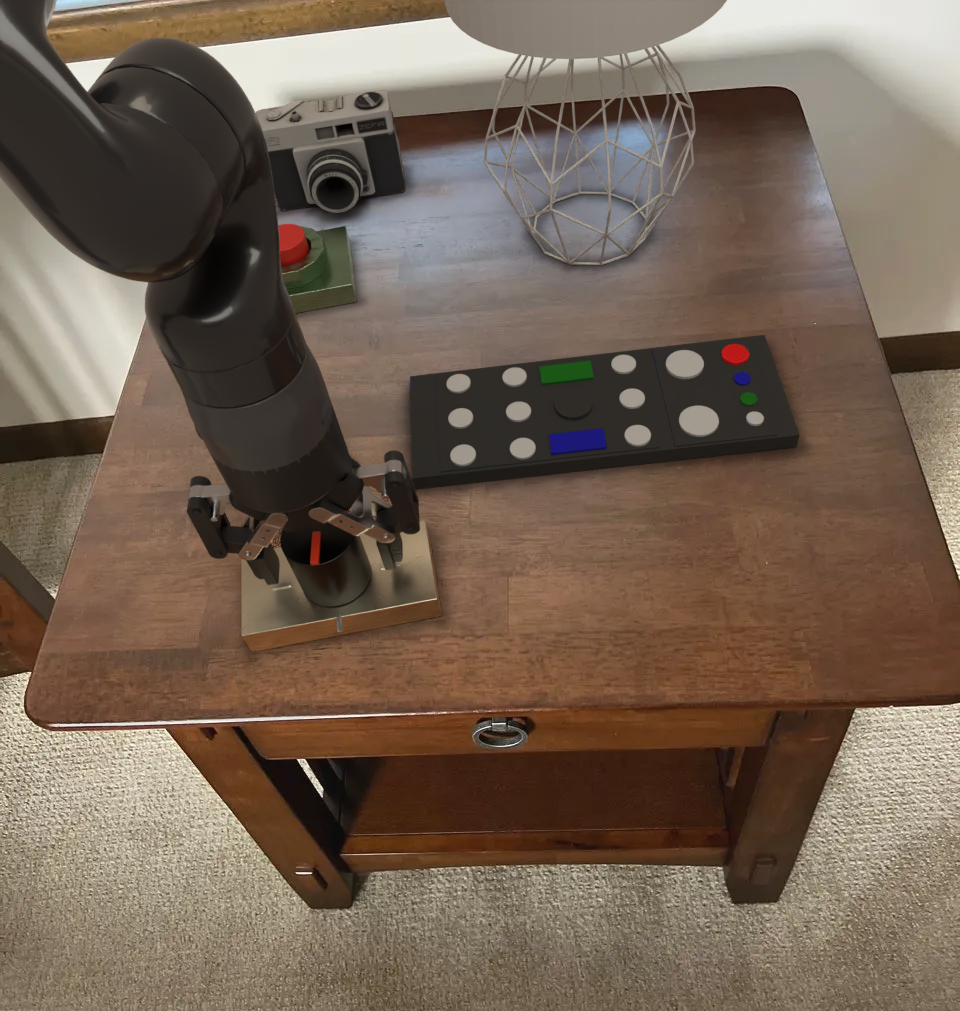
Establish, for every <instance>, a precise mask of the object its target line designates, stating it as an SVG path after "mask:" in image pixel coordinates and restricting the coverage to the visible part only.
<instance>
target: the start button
mask: <svg viewBox="0 0 960 1011" xmlns="http://www.w3.org/2000/svg"><path fill="white" fill-rule="evenodd" d="M278 227H279V236H280V260H281V266H284V265H290V264H295V263H297V262H299V261H300V260H302V259H304V258H305V257H306V256H307V254H308V252H309V246H308V242H307V239H306V236H305V233H304V230H303V229H302V228H301V227H302V226H299V225H298V224H296V223H295V224H294V223H282V224H278Z"/></svg>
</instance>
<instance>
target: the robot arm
mask: <svg viewBox="0 0 960 1011" xmlns="http://www.w3.org/2000/svg"><path fill="white" fill-rule="evenodd" d="M56 5H57V0H0V180H1V181H2V182H3V183H4V184H5V186H6V187H7V188H8V189H9V190H10V191H11V192H12V194H13V195H14V196H15V197H16V198H17V199H18V201H19V202H20V203H21V205H23V206H24V208H25V209H26V211H28V212H29V213H30V215H31V216H32V217H33V218H34V219H35V220H36V221H37V222H38V223H39V224H40V225H41V227H43V228H44V230H45V231H46V232H47V233H48V235H50V237H53V239H55V240H56V241H57V242H58V243H59V244H60V245H62V246H63V247H64V248H65V249H66V250H67V251H69V252H70V253H71V254H73V255H74V256H76V257H77V258H79V259H80V260H82V261H84V262H85V263H87V264H88V265H90V266H92V267H94V268H96V269H98V270H101V271H103V272H105V273H107V274H109V275H112V276H114V277H118V278H121V279H125V280H129V281H133V282H141V283H147V284H146V289H145V294H144V314H145V319H146V321H147V325H148V327H149V330H150V332H151V333H152V336H153V338H154V340H155V343H156V345H157V347H158V349H159V351H160V353H161V355H162V357H163V359H164V360H165V362H166V364H167V366H168V368H169V370H170V371H171V373H172V375H173V377H174V379H175V381H176V383H177V385H178V386H179V389H180V391H181V394H182V395H183V399H184V402H185V405H186V408H187V411H188V414H189V416H190V419H191V421H192V423H193V425H194V429H195V432H196V434H197V436H198V438H199V439H200V440H202V441H203V443H204V445H205V447H206V449H207V451H208V453H209V455H210V456H211V458H212V460H213V462H214V464H215V466H216V468H217V469H218V472H219V473H220V475H221V477H222V479H223V481H224V483H217V484H212V481H211V480H210V479H209V477H206V476H203V475H195V476H193V477H192V478H191V479H190V484H189V491H188V498H187V507H186V514H187V515H188V517H189V520H190V521H191V523H192V525H193V527H194V529H195V531H196V532H197V534H198V536H199V538H200V540H201V542H202V544H203V546H204V547H205V549H206V551H207V553H208V555H209V557H211V558H213V559H215V560H216V559H217V560H221V559H225V558H227V557H228V555H229V554H235V555H238V557H239V559H240V560H241V559H243V560H246V561H247V563H248V565H249V566H250V568H251V570H252V571H253V573H254V575H255V576H256V577H257V578H258V579H264V580H265V581H266V583H267V585H274V584H278V583H279V569H280V563H279V558H278V556H277V554H276V552H275V550H274V548H275V547H274V546H273V544H272V542H273V540H274V538H275V537H276V536H277V534H278V532H280V530H281V531H282V530H286V532H287V533H289V532H297V531H301V530H304V529H308V528H328V527H334V526H336V527H338V528H340V529H342V530H344V531H346V532H348V533H350V534H352V535H354V536H359V535H361V534H362V533H363V534H365V535H367V536H369V537H371V538H373V539H375V540H376V545H377V548H378V550H379V553H380V556H381V559H382V562H383V565H384V568H385V570H392V569H396V562H401V561H402V558H403V546H402V538H401V535H400V533H401V532H403V533H405V534H416V533H418V532H419V531H420V521H421V520H420V502H419V501H420V500H419V497H418V494H417V491H416V489H415V487H414V484H413V480H412V476H411V473H410V471H409V468H408V466H407V463H406V460H405V457H404V454H403V453H402V452H401V451H399V450H393V449H392V450H389V451H387V452H385V453H384V455H383V462H380V463H374V464H367V465H361V464H360V463H359V462H358V461H356V460H355V459H354V458H353V457H352V456H351V454H350V452H349V449H348V447H347V443H346V440H345V438H344V435H343V431H342V429H341V426H340V424H339V419H338V417H337V414H336V412H335V409H334V406H333V402H332V400H331V397H330V393H329V391H328V388H327V385H326V383H325V379H324V376H323V373H322V371H321V369H320V366H319V363H318V362H317V360H316V358H315V356H314V354H313V353H312V350H311V349H310V347H309V345H308V344H307V340H306V339H305V336H304V334H303V331H302V328H301V325H300V322H299V319H298V317H297V313H295V311H294V308H293V305H292V302H291V299H290V297H289V294H288V291H287V289H286V287H285V284H284V282H283V277H282V270H281V260H280V236H279V227H278V225H279V219H278V211H277V203H276V195H275V192H274V185H273V177H272V171H271V164H270V158H269V153H268V149H267V144H266V141H265V138H264V134H263V131H262V128H261V125H260V122H259V120H258V117H257V115H256V111H255V109H254V107H253V104H252V102H251V100H250V99H249V97H248V96H247V94H246V92H245V91H244V90H243V88H242V87H241V85H240V84H239V82H238V80H236V78H235V77H234V76H233V75H232V74H231V73H230V72H229V70H228V69H227V68H226V67H225V66H224V65H223V64H222V63H221V62H219V60H218V59H216V58H215V57H214V56H212V54H210V53H209V52H208V51H205V50H203V49H202V48H200V47H198V46H196V45H194V44H192V43H189V42H187V41H184V40H181V39H178V38H173V37H149V38H147V39H146V38H145V39H142V40H140V41H137V42H134V43H133V44H131V45H129V46H128V47H126V48H125V49H124V50H122V51H121V52H120V53H118V54H117V55H116V56H115V57H114V58H113V59H112V60H111V61H110V62H109V63H108V64H107V65H106V67H105V68H104V69H103V71H102V72H101V73H100V74H99V76H98V78H97V79H96V80H95V81H94V82H93V84H92V85H91V86H90V88H89V89H88V90H87V89H86V88H85V87H84V86H83V85H82V83H81V81H79V80H78V78H77V77H76V76H75V74H74V73H73V72H72V70H71V69H70V68H69V66H68V65H67V64H66V62H65V61H64V59H63V58H62V56H61V55H60V54H59V52H58V51H57V50H56V48H55V46H54V45H53V44H52V42H51V41H50V39H49V37H48V30H47V29H48V26H49V24H50V22H51V20H52V17H53V14H54V12H55V9H56ZM370 487H371V488H373V489H374V490H375V491H376V492H377V493H378V494H380V495H381V498H379V497H377V496H375V495H374V494H373V492H372V490H371V488H370ZM388 500H389V502H390V503H388V502H386V501H388ZM228 505H231V506H232V507H233V508H234V510H236V511H238V512H241V513H242V514H245V515H246V517H245V518H244V520H243V521H242V523H241V524H240V526H239V525H237V526H236V525H231V522H230V520H229V517H228V515H227V513H226V506H228ZM350 509H351V510H350ZM349 511H350V512H349ZM374 517H375V518H374Z"/></svg>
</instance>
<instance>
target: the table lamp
mask: <svg viewBox="0 0 960 1011" xmlns="http://www.w3.org/2000/svg"><path fill="white" fill-rule="evenodd" d="M727 1H728V0H444V5H445V9H446V12H447V14H448V16H449V18H450V19H451V21H452V23H453V24H454V25H455V26H456V27H457V28H458V29H459V30H460V31H462V33H464V34H466V35H467V36H469V37H470V38H471V39H474V40H476V41H478V42H479V43H481V44H483V45H486V46H488V47H490V48H494V49H496V50H499V51H503V52H506V53H511V54H514V55H517V57H515V59H514V61H513V62H512V64H511V65H510V66H509V68H508V70H507V71H506V73H505V74H504V77H503V78H502V82H501V85H500V88H499V90H498V93H497V96H496V99H495V102H494V105H493V107H492V116H491V119H490V122H489V126H488V129H487V132H486V136H485V138H484V149H483V150H484V152H483V163H484V165H485V168H487V170H488V171H489V173H490V175H491V176H492V178H493V179H494V180H495V183H496V185H497V186H498V187H499V189H500V190H501V192H502V194H503V195H504V197H505V198H506V199H507V201H508V203H509V204H510V206H511V207H512V209H513V210H514V211H515V213H516V214H517V216H518V217H519V219H520V220H521V222H522V223H523V225H524V226H525V228H526V229H527V232H528V233H529V234H530V235H531V236H532V238H533V239H534V241H535V242H536V244H537V246H538V247H539V249H540V250H541V251H542V253H543V254H544V255H547V256H549V257H551V258H553V259H555V260H558V261H560V262H563V263H564V264H567V265H576V266H577V265H579V266H580V265H581V266H603V265H606V264H609V263H613V262H614V261H617V260H620V259H623V258H628V257H629V256H630V255H631V254H633V252H634V251H636V250H637V248H638V247H640V246H641V244H643V242H645V241H646V239H647V237H648V236H649V235H650V233H651V231H652V230H653V229H654V228H655V226H656V225H657V223H658V221H659V220H660V218H661V217H662V216H663V214H664V212H665V211H666V210H667V208H668V207H669V205H670V204H671V202H672V201H673V199H674V198H675V195H676V194H677V192H678V191H679V189H680V188H681V186H682V184H684V181H685V179H686V178H687V176H688V175H689V173H690V171H691V170H692V169H693V167H694V165H695V156H694V146H693V139H694V137H695V134H696V132H697V131H696V130H697V129H696V118H695V107H694V104H693V101H692V100H691V97H690V93H689V91H688V89H687V86H686V83H685V81H684V78H683V74H681V72H680V71H679V70H678V68H677V67H676V66H675V64H674V63H673V62H672V60H671V59H670V58H669V56H668V55H667V54H666V52H665V51H664V49H663V48H662V46H660V45H662V44H665V43H667V42H670V41H671V42H672V41H673V40H675V39H678V38H680V37H682V36H684V35H686V34H689V33H690V32H692V31H693V30H695V29H697V28H698V27H701V26H702V25H703V24H705V23H706V22H707V21H709V20H710V19H711V18H712V17H714V16H715V15H716V14H717V13H718V12H719V11H720V10H721V9H722V8H723V6H724V5H725V4H726V3H727ZM650 48H651V49H652V51H653V52H654V53H651V51H650V50H649V49H650ZM643 50H644V51H645V53H646V54H647V56H645V57H642V58H641V59H639V60H636V61H634V62H632V63H631V61H630V58H629V55H628V54H630V53H635V52H638V51H643ZM618 55H619V60H620V61H619V62H620V65H619V64H618V63H616V62H614V61H612V60H609V59H608V57H615V56H618ZM661 55H662V56H661ZM522 56H524V58H523V59H522V61H521V63H520V64H519V66H518V68H517V69H516V71H515V73H514V74H513V76H512V77H511V76H509V75H510V74H511V72H512V70H513V69H514V68H515V66H516V64H517V63H518V61H519V60H520V59H521V57H522ZM623 56H624V59H625V61H626V63H627V65H625V64H624V59H623ZM529 57H530V61H529V65H528V68H527V73H526V77H525V80H521V79H518V78H517V76H518V74H519V72H520V71H521V69H522V68H523V66H524V64H525V63H526V62H527V59H528V58H529ZM655 57H656V58H657V61H658V63H657V62H656V59H655ZM663 57H664V58H663ZM534 58H541V59H542V60H541V63H540V65H539V68H538V70H537V71H536V72H535V73H534V74H533V75H532V76H531V77H530V74H531V70H532V66H533V63H534ZM547 59H549V60H550V61H548V62H547V63H546V61H547ZM583 59H586V60H587V59H597V67H598V77H599V86H600V87H599V88H600V89H599V90H600V97H601V98H600V100H601V108H600V109H599V110H598V111H597V112H595V113H594V114H593V115H592V116H591V117H590V118H588V120H587V121H586V122H584V123H583V124H582V125H581V126H580V127H579V128H578V129H577V124H576V110H575V99H574V97H575V96H574V64H575V63H574V62H575V60H583ZM664 59H665V60H664ZM557 60H568V63H567V69H566V75H565V80H564V86H563V91H562V98H561V103H560V107H559V108H560V109H559V115H558V119H557V121H556V120H555V119H553V118H551V117H550V116H548V115H546V114H544V113H543V112H541V111H540V110H537V108H536V109H535V108H534V107H533V106H531V105H528V103H529V101H530V99H531V97H532V94H533V92H534V90H535V87H536V86H537V85H536V84H537V83H538V80H539V77H540V75H541V73H542V72H543V71H544V70H545V69H547V68H548V67H549V66H550V65H552V64H553V63H554V62H555V61H557ZM647 60H650V61H651V63H652V64H653V66H654V68H655V69H656V70H657V73H658V74H659V77H660V78H661V80H662V81H663V83H664V84H665V98H666V105H665V109H664V111H663V114H662V117H661V119H660V123H659V126H658V128H657V132H656V133H655V129H654V125H653V121H652V119H651V116H650V113H649V110H648V108H647V106H646V102H645V100H644V96H643V94H642V91H641V88H640V86H639V83H638V79H637V77H636V75H635V71H634V69H633V66H636V65H638V64H641V63H643V62H646V61H647ZM602 61H605V62H607V63H608V64H610V65H612V66H614V67H616V68H618V69H619V70H621V86H622V87H621V88H622V89H621V90H620V91H619V92H617V93H616V94H615V95H614V96H613V97H612V98H610V100H609V101H608V102H606V103H605V91H604V79H603V69H602ZM665 61H667V63H668V65H670V67H671V68H672V69H673V71H674V72H675V74H676V75H677V76H678V78H679V82H680V83H679V82H678V80H677V79H676V78H675V76H674V74H673V73H672V71H671V69H670V68H669V67H668V65H667V63H666V62H665ZM658 64H659V65H658ZM627 69H629V72H630V75H631V77H632V80H633V82H634V86H635V89H636V92H637V94H638V96H639V100H640V102H641V105H642V107H643V110H644V113H645V116H646V118H647V121H648V124H649V127H650V132H651V136H650V134H649V132H648V130H647V128H646V126H645V124H644V122H643V121H642V119H641V117H640V115H639V113H638V111H637V110H636V107H635V106H634V104H633V102H632V100H631V98H630V96H629V94H628V93H627V90H626V84H625V82H626V81H625V70H627ZM665 70H666V72H667V73H668V75H669V77H670V78H671V80H672V81H673V83H674V84H675V86H676V88H677V89H678V90H679V91H680V94H681V95H682V96H683V98H684V100H685V102H686V103H685V102H683V101H680V100H679V98H678V96H677V94H676V93H675V91H674V89H673V88H672V86H671V85H670V83H669V81H668V78H667V75H666V72H665ZM507 79H508V80H510V81H509V82H508V84H507V86H506V87H505V84H506V82H507ZM532 80H533V82H532V84H531V87H530V90H529V92H528V84H529V83H530V82H531V81H532ZM569 80H570V100H571V114H572V126H573V130H572V129H570V127H569V128H568V127H567V126H565V125H564V124H562V119H563V115H564V114H563V113H564V107H565V102H566V96H567V90H568V84H569ZM513 82H516V83H520V84H523V85H524V90H523V91H524V96H523V106H522V108H521V111H520V112H519V113H520V114H519V116H518V118H517V121H516V123H515V124H514V125H512V126H510V127H508V128H505V129H503V130H500V131H498V132H496V131H495V128H496V125H495V124H496V116H497V113H498V110H499V107H500V105H501V103H502V101H503V99H504V97H505V96H506V94H507V93H508V91H509V89H510V87H511V86H512V84H513ZM680 84H681V85H680ZM681 86H682V87H681ZM504 87H505V89H504ZM670 94H671V96H672V97H673V99H674V101H675V102H676V103H675V107H674V111H673V114H672V119H671V122H670V126H669V130H668V133H667V136H666V139H665V140H662V141H660V142H657V141H658V139H659V136H660V132H661V129H662V127H663V124H664V121H665V118H666V115H667V113H668V109H669V106H670ZM620 95H621V97H620V104H619V112H618V119H617V126H616V132H615V138H614V141H612V140H609V134H608V123H607V113H606V108H607V107H608V106H609V105H610V104H611V103H613V101H615V100H616V99H617V98H618V97H619V96H620ZM624 97H625V98H626V100H627V101H628V104H629V105H630V107H631V109H632V111H633V113H634V115H635V117H636V119H637V121H638V122H639V124H640V127H641V128H642V130H643V132H644V134H645V136H646V137H647V139H648V141H649V144H650V145H651V146H650V147H649V149H648V150H646V151H645V153H644V154H643V155H640V154H638V153H636V152H634V151H632V150H631V149H628V148H626V147H624V146H622V145H620V144H618V141H619V136H620V135H619V134H620V128H621V127H620V126H621V120H622V112H623V104H624ZM682 106H683V107H686V108H688V109H690V112H691V113H690V114H691V124H692V129H691V130H690V128H689V125H688V122H687V119H686V116H685V113H684V110H683V108H682ZM529 110H530V111H532V112H534V113H536V114H537V115H539V116H541V117H542V118H544V119H546V120H547V121H549V122H551V123H553V124H555V125H556V130H555V131H556V132H555V137H554V145H553V156H552V162H551V163H552V164H551V174H550V176H549V175H548V173H547V170H546V167H545V163H544V160H543V157H542V153H541V151H540V147H539V144H538V140H537V137H536V133H535V130H534V127H533V122H532V119H531V115H530V112H529ZM678 110H679V113H680V116H681V119H682V121H683V124H684V127H685V130H686V132H683V133H680V134H678V135H675V136H672V132H673V128H674V125H675V121H676V118H677V113H678ZM525 113H526V116H527V120H528V124H529V127H530V128H529V129H530V131H531V133H532V135H531V136H532V138H533V141H534V145H535V148H536V151H537V155H538V156H537V155H536V153H535V151H534V149H533V148H532V146H531V145H530V143H529V141H528V140H527V138H526V136H525V134H524V133H523V131H522V127H523V121H524V117H525ZM600 113H602V119H603V120H602V122H603V131H604V140H603V141H602V142H601V143H599V144H598V145H597V146H595V148H593V149H592V150H590V151H589V152H588V151H587V150H586V147H585V146H584V145H583V142H582V140H581V139H580V137H579V135H578V133H580V132H581V131H582V130H583V129H584V128H585V127H586V126H587V125H588V124H590V122H592V121H593V120H594V119H595V118H596V117H597V116H598V115H599V114H600ZM561 128H562V129H563V130H565V131H567V132H569V133H571V134H572V138H571V141H570V143H569V148H568V150H567V154H566V156H565V159H564V163H563V167H562V169H561V172H560V176H558V177H557V178H555V168H556V162H557V151H558V142H559V135H560V129H561ZM512 130H513V133H512V138H511V142H510V146H509V150H508V154H507V153H506V151H505V149H504V147H503V145H502V143H501V140H500V139H499V135H502V134H505V133H507V132H509V131H512ZM491 131H492V134H491ZM685 136H688V139H687V141H686V142H685V144H684V147H683V149H682V151H681V153H680V155H679V157H678V159H677V160H676V162H675V164H674V166H673V168H672V170H671V171H670V173H669V175H668V177H667V179H666V180H665V182H664V180H663V166H664V162H665V159H666V156H667V151H668V147H669V144H670V142H672V141H674V140H676V139H679V138H682V137H685ZM520 137H521V138H522V140H523V141H524V143H525V145H526V147H527V148H528V150H529V152H530V153H531V155H532V157H533V158H534V160H535V162H536V163H537V165H538V167H539V169H540V170H541V172H542V174H543V175H544V177H545V181H546V184H547V187H548V192H549V194H548V193H547V192H546V191H544V190H543V189H542V188H540V187H539V186H537V184H535V183H534V182H533V181H531V180H530V179H529V178H527V177H526V175H523V174H522V173H521V172H520V171H519V170H517V169H516V168H515V167H514V162H515V158H516V154H517V150H518V145H519V140H520ZM651 137H652V138H651ZM493 138H495V140H496V142H497V144H498V146H499V148H500V150H501V153H502V154H503V156H504V158H505V160H506V162H505V164H504V163H498V162H495V161H490V160H487V159H488V147H489V146H488V144H489V140H491V139H493ZM578 144H579V145H580V147H581V149H582V150H583V152H584V156H583V157H582V158H581V159H580V160H579V151H578ZM609 144H610V145H612V146H614V147H613V154H612V159H611V167H610V150H609V148H610V147H609ZM573 145H574V146H575V147H574V150H575V160H576V161H575V164H573V165H572V166H571V167H569V168H568V169H567V170H566V167H567V164H568V162H569V158H570V154H571V151H572V148H573ZM604 145H605V157H606V174H607V186H606V184H605V181H604V180H603V178H602V176H601V175H600V172H599V171H598V169H597V168H596V166H595V164H594V162H593V160H592V158H591V156H592V155H593V154H594V153H596V152H597V151H598V150H599V149H600V148H601V147H603V146H604ZM661 145H664V149H663V152H662V155H661V156H660V152H659V147H658V146H661ZM617 148H618V149H620V150H622V151H624V152H626V153H628V154H630V155H632V156H634V157H635V158H638V160H637V161H636V162H635V163H634V164H633V165H632V166H631V167H630V168H629V170H628V171H626V172H625V174H624V175H622V177H621V178H620V179H619V180H618V181H617V182H616V183H615V184H613V186H612V181H613V175H614V167H615V160H616V154H617ZM689 152H690V161H691V163H690V165H689V166H688V168H687V170H686V171H685V173H684V175H683V176H682V174H683V170H684V168H685V164H686V161H687V159H688V155H689ZM647 155H648V157H647V158H646V156H647ZM655 156H656V159H657V163H656V162H654V159H655ZM538 157H539V158H538ZM682 158H683V159H682ZM586 159H587V160H588V162H589V163H590V165H591V167H592V169H593V170H594V171H595V174H596V175H597V178H598V180H599V181H600V182H601V185H602V187H603V188H604V190H605V191H582V190H581V188H582V187H581V177H580V176H581V175H580V164H582V163H583V162H584V161H585V160H586ZM681 160H682V162H681V166H680V169H679V172H678V174H677V176H676V180H675V184H674V186H673V189H672V193H671V194H669V193H667V192H664V191H665V190H666V187H667V185H668V184H669V182H670V180H671V178H672V176H673V175H674V173H675V171H676V170H677V168H678V166H679V163H680V161H681ZM642 161H644V162H645V165H644V168H643V170H642V172H641V173H642V174H641V176H640V179H639V181H638V184H637V186H636V190H635V192H634V195H633V198H632V200H631V199H628V198H625V197H623V196H620V195H617V194H615V193H612V192H613V191H614V190H615V189H616V188H617V187H618V186H619V185H620V184H621V182H622V181H623V180H624V179H626V177H627V176H628V175H629V174H631V172H632V171H633V170H634V169H635V168H636V167H637V166H638V165H639V164H640V163H641V162H642ZM649 164H650V168H649V175H648V176H649V178H648V187H647V196H646V197H647V198H646V203H645V204H643V205H642V206H641V207H639V206H638V205H637V203H635V201H636V198H637V197H638V193H639V191H640V188H641V185H642V183H643V179H644V177H645V174H646V172H647V169H648V166H649ZM490 165H491V166H496V167H501V168H505V169H504V186H503V185H502V183H501V181H500V180H499V179H498V177H497V176H496V174H495V172H494V171H493V169H492V167H491V166H490ZM654 167H655V168H658V170H659V171H658V172H659V189H660V191H659V193H658V194H657V195H656V196H653V198H651V189H652V180H653V179H652V178H653V169H654ZM575 168H576V173H577V174H576V175H577V182H578V183H577V186H578V191H577V192H575V193H571V194H568V195H565V196H561V197H558V198H557V195H558V192H559V190H560V186H561V182H562V180H563V178H564V177H565V176H567V175H568V174H569V173H570V172H571V171H573V170H574V169H575ZM509 169H510V171H511V174H512V178H513V181H514V185H515V187H516V190H517V193H518V197H519V200H520V202H521V206H522V209H523V212H524V215H525V216H523V215H522V213H521V212H520V210H519V208H518V206H517V205H516V204H515V202H514V200H513V199H512V197H511V195H510V194H509V192H508V191H507V189H508V171H509ZM518 176H519V177H521V178H522V179H523V180H525V181H526V182H527V183H529V184H530V185H531V186H532V187H534V188H535V189H536V190H538V191H539V193H541V194H542V195H544V196H545V197H546V198H548V199H549V204H548V205H546V206H545V207H544V208H543V209H542V210H541V211H538V212H537V211H536V209H535V208H534V206H533V204H532V202H531V200H530V198H529V196H528V195H527V193H526V190H525V188H524V186H523V185H522V183H521V181H520V179H519V177H518ZM681 176H682V178H681ZM554 178H555V179H554ZM680 179H681V180H680ZM555 184H556V188H555V191H554V185H555ZM521 191H522V193H523V195H524V198H525V199H526V201H527V203H528V206H529V208H530V209H531V211H532V213H531V214H528V211H527V208H526V205H525V202H524V198H523V196H522V193H521ZM578 195H607V204H608V205H607V209H608V210H607V216H606V224H605V229H604V231H601V230H600V229H598V228H595V227H594V226H591V225H589V224H586V223H584V222H582V221H581V220H578V219H576V218H573V217H571V216H569V215H567V214H565V213H562V212H561V211H558V210H556V209H554V208H553V207H554V206H553V204H555V203H558V202H560V201H563V200H566V199H568V198H571V197H575V196H578ZM612 197H615V198H617V199H620V200H622V201H625V202H627V203H630V204H632V205H633V206H634V207H635V209H637V210H636V211H634V212H632V213H631V214H630V215H629V216H627V217H626V218H624V219H623V220H622V221H621V222H619V223H618V224H616V225H615V226H614V227H612V228H611V229H610V230H609V227H610V222H611V221H610V220H611V214H612ZM662 197H667V199H666V200H665V201H664V202H662V203H661V204H660V205H659V203H660V201H661V199H662ZM650 198H651V199H650ZM651 204H652V206H651V208H650V205H651ZM658 205H659V206H658ZM643 210H645V213H644V212H643ZM658 211H659V212H658ZM657 212H658V213H657ZM546 213H550V215H551V218H552V222H553V225H554V227H555V228H554V229H555V231H556V234H557V236H558V239H559V243H560V244H561V248H562V249H563V252H564V255H565V256H564V255H563V253H562V252H561V251H559V250H558V249H557V248H556V247H555V246H554V245H553V244H552V243H551V242H550V241H548V239H547V238H545V237H544V236H543V235H542V234H541V233H540V232H539V231H538V230H537V229H536V228H537V223H538V218H539V217H540V216H541V215H542V214H546ZM638 213H639V214H640V215H641V216H642V217H643V218H644V224H643V226H642V227H641V228H640V231H639V232H638V234H637V236H636V238H635V239H634V241H633V242H632V245H631V246H630V248H629V249H628V250H627V249H625V248H624V247H623V246H622V245H621V244H619V243H618V242H617V241H616V240H615V239H613V238H612V237H611V236H610V234H611V233H613V232H614V231H615V230H617V229H618V228H620V227H621V226H622V225H624V224H625V223H626V222H628V221H630V220H631V219H632V218H633V217H634V216H636V215H637V214H638ZM656 213H657V214H656ZM555 214H556V215H559V216H561V217H563V218H565V219H568V220H569V221H571V222H575V223H576V224H578V225H581V226H583V227H585V228H587V229H589V230H592V231H594V232H596V233H598V234H600V235H601V236H600V237H599V238H597V239H596V240H595V241H593V242H592V243H591V244H590V245H589V246H587V247H586V248H585V249H583V251H581V252H580V253H579V254H577V255H576V256H575V257H573V258H572V259H571V260H570V256H569V253H568V251H567V248H566V245H565V243H564V240H563V237H562V235H561V231H560V229H559V225H558V223H557V220H556V216H555ZM655 214H656V215H655ZM654 215H655V217H654V218H653V219H652V221H651V222H650V220H651V218H652V216H654ZM533 217H534V224H533V226H532V223H531V220H530V218H533ZM648 224H649V225H648ZM536 235H537V236H538V237H539V238H540V239H541V240H542V241H543V242H544V243H546V244H547V245H548V246H549V247H550V248H551V249H552V250H553V251H554V252H555V253H556V254H557V255H558V256H557V255H556V254H553V253H551V252H548V251H546V250H545V248H544V247H543V245H542V244H541V242H540V241H539V239H538V238H537V236H536ZM607 239H608V240H609V241H610V242H612V244H614V245H615V246H616V247H617V248H618V249H620V250H621V251H622V252H623V253H624V254H621V255H618V256H616V257H613V258H610V259H607V260H604V255H605V249H606V243H607ZM602 240H603V242H602V248H601V253H600V259H599V262H591V261H590V262H589V261H586V262H583V261H582V262H581V261H580V262H579V261H577V260H579V258H581V257H582V256H583V255H584V254H586V253H587V252H588V251H590V250H591V249H592V248H593V247H595V246H596V245H597V244H598V243H600V242H601V241H602Z"/></svg>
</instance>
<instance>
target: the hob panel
mask: <svg viewBox="0 0 960 1011" xmlns="http://www.w3.org/2000/svg"><path fill="white" fill-rule="evenodd" d="M400 535H401V538H402V546H403V558H402V561H401V562H396V569H392V570H385V568H384V565H383V562H382V559H381V556H380V553H379V550H378V548H377V545H376V540H375V539H373V538H371V537H369V536H367V535H365V534H363V533H362V534H361V535H360V538H361V540H362V543H363V546H364V548H365V551H366V554H367V556H368V559H369V562H370V565H371V577H370V580H369V583H368V585H367V587H366V588H365V590H364V591H363V592H362V593H361V594H360V595H359V596H358V597H357V598H355V599H354V600H352V601H350V602H348V603H346V604H343V605H339V606H322V605H319V604H316V603H314V602H312V601H311V600H310V599H308V598H307V597H306V595H305V594H304V592H303V590H302V588H301V586H300V584H299V582H298V580H297V578H296V577H295V575H294V573H293V571H292V569H291V567H290V565H289V563H288V561H287V559H286V557H285V555H284V553H283V551H282V548H281V546H279V547H273V548H274V550H275V552H276V554H277V556H278V558H279V563H280V569H279V583H278V584H274V585H267V583H266V581H265V580H264V579H258V578H257V577H256V576H255V575H254V573H253V571H252V570H251V568H250V566H249V565H248V563H247V561H246V560H243V559H241V558H240V562H241V563H240V572H241V573H240V574H241V575H240V582H241V584H240V586H241V587H240V593H241V594H240V595H241V596H240V598H241V600H240V604H241V606H240V607H241V608H240V609H241V610H240V611H241V612H240V613H241V615H240V616H241V618H240V623H241V624H240V626H241V627H240V628H241V630H240V631H241V632H240V634H241V636H240V637H242V639H243V641H244V642H245V644H246V645H247V646H248V649H249V650H250V651H251V653H255V652H259V651H264V650H265V651H266V650H271V649H275V648H282V647H285V646H292V645H296V644H297V645H298V644H302V643H307V642H313V641H319V640H323V639H328V638H334V637H339V636H345V635H350V634H354V633H360V632H365V631H371V630H376V629H380V628H386V627H390V626H392V627H393V626H397V625H402V624H406V623H412V622H418V621H423V620H428V619H435V618H438V617H442V616H443V614H442V613H443V612H442V607H441V606H442V605H441V601H440V594H439V588H438V580H437V574H436V567H435V561H434V554H433V547H432V542H431V537H430V536H431V535H430V533H429V528H428V525H427V521H426V519H421V520H420V531H419V532H418V533H416V534H405V533H403V532H401V533H400Z"/></svg>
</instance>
